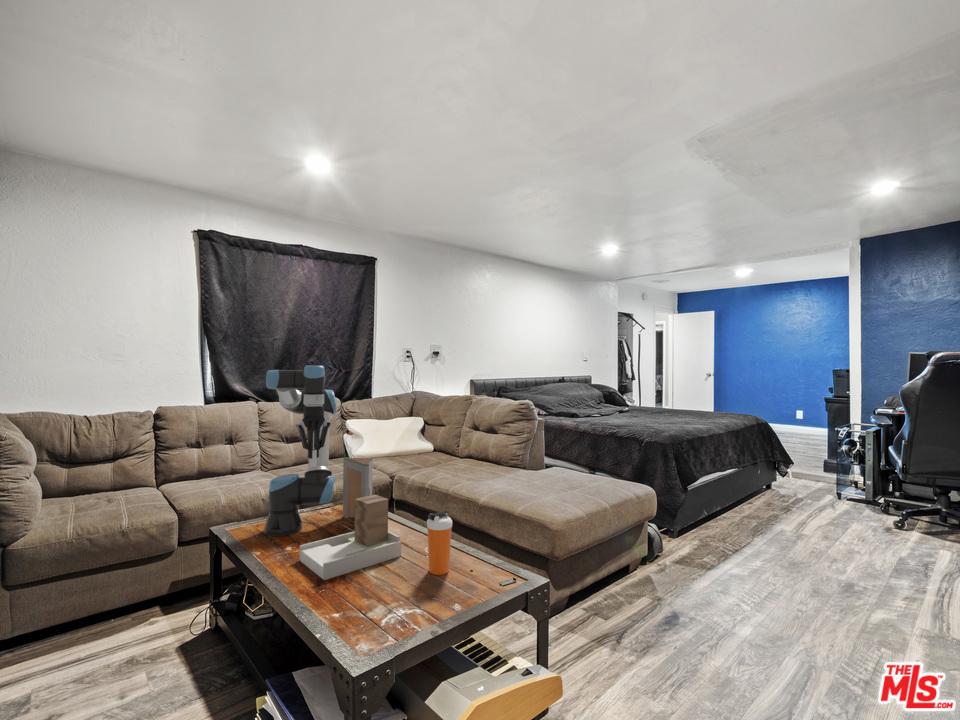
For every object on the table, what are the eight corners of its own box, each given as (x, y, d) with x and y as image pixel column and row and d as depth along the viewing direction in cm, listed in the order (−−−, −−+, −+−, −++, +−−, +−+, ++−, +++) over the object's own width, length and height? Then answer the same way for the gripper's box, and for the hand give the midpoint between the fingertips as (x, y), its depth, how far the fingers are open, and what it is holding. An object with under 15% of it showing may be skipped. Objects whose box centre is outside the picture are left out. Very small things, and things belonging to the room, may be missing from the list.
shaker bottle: (457, 570, 164) (457, 513, 164) (438, 578, 157) (438, 519, 157) (440, 563, 170) (440, 507, 170) (421, 570, 163) (421, 513, 163)
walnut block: (354, 540, 180) (355, 499, 180) (374, 534, 186) (374, 494, 187) (367, 547, 174) (368, 503, 174) (387, 540, 180) (388, 499, 180)
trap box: (299, 560, 171) (299, 541, 171) (372, 540, 191) (372, 523, 191) (324, 580, 155) (324, 559, 156) (401, 555, 176) (401, 537, 176)
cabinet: (342, 517, 220) (343, 457, 220) (361, 512, 226) (362, 454, 227) (365, 528, 204) (365, 464, 205) (384, 523, 211) (384, 461, 211)
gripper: (300, 406, 173) (300, 470, 173) (334, 405, 182) (333, 465, 182) (293, 405, 179) (292, 467, 178) (325, 403, 187) (325, 462, 187)
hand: (313, 466), depth 180 cm, fingers closed
